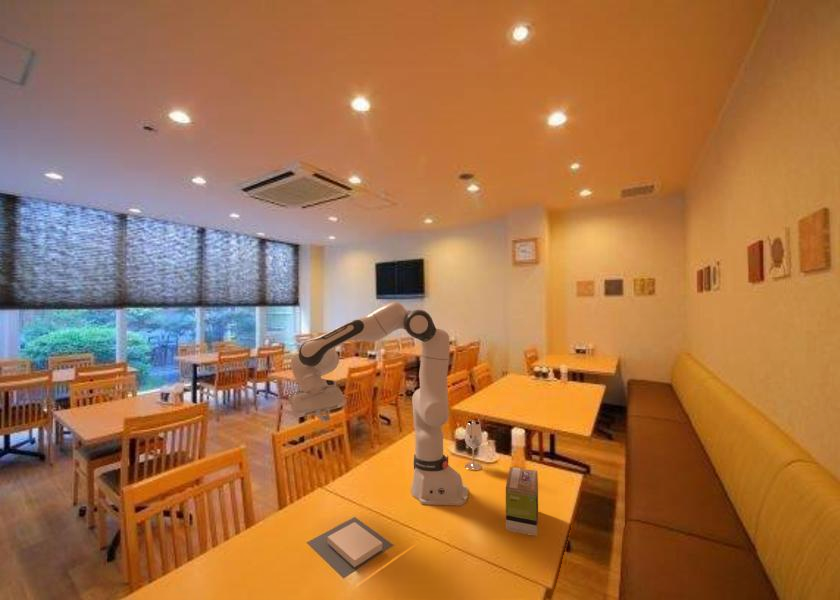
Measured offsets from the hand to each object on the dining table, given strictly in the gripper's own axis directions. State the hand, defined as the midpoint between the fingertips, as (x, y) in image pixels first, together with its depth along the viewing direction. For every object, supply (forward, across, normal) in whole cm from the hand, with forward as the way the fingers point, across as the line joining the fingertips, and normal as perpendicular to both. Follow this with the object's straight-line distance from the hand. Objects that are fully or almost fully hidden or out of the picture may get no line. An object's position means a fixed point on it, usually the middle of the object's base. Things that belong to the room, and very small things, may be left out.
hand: (326, 421), depth 127 cm
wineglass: (+36, +64, +9) cm, 74 cm away
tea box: (+61, +43, -16) cm, 76 cm away
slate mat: (+38, -5, +6) cm, 39 cm away
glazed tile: (+33, -5, +8) cm, 35 cm away
